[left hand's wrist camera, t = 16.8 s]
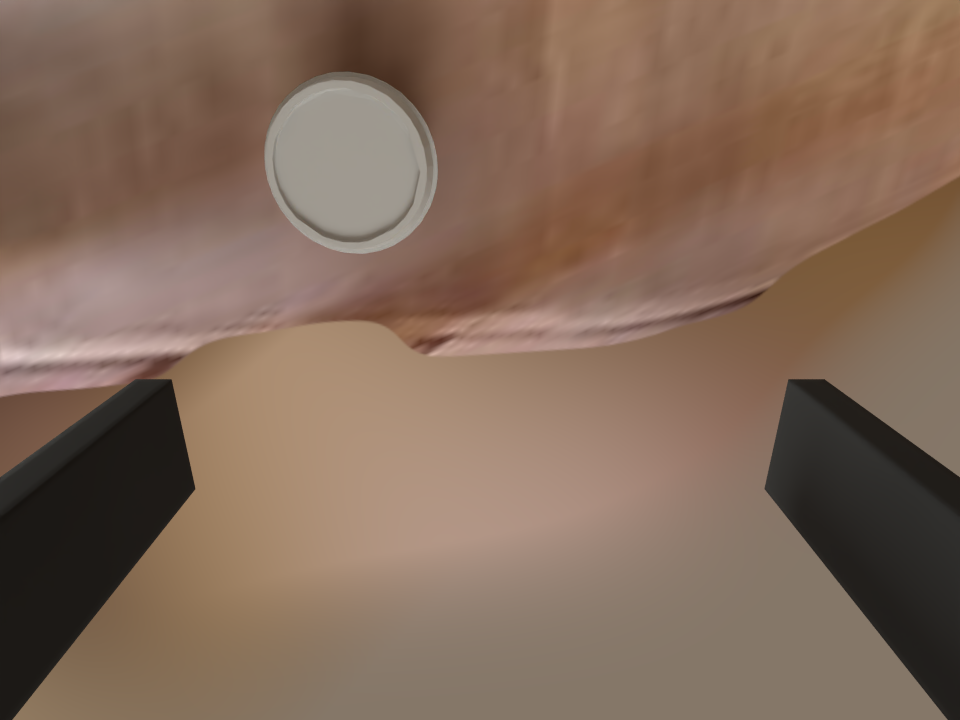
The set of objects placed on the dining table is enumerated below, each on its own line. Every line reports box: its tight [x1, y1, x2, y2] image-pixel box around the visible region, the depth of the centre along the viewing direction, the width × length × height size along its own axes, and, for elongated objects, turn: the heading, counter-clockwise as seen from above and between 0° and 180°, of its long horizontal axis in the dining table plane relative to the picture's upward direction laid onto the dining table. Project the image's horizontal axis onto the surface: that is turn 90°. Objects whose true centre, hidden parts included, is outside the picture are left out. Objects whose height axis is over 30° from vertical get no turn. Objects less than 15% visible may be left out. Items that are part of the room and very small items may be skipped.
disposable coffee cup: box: [264, 71, 438, 254], centre depth 36 cm, size 10×10×12 cm
